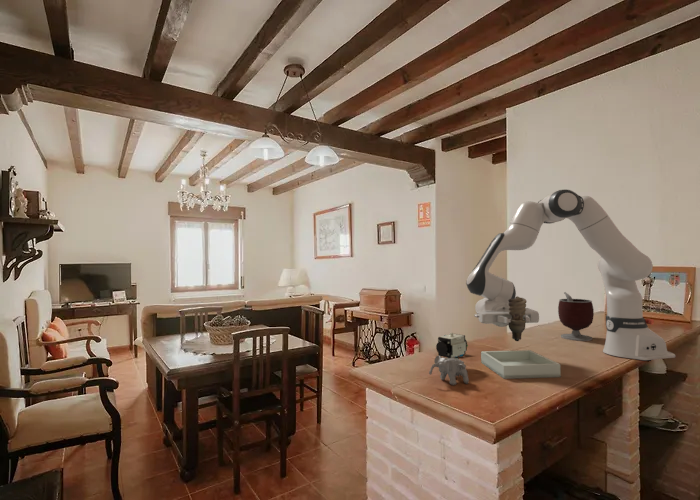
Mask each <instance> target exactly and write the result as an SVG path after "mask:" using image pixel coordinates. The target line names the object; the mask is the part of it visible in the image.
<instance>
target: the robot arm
mask: <svg viewBox="0 0 700 500" xmlns="http://www.w3.org/2000/svg"><path fill="white" fill-rule="evenodd" d="M566 219H568V220H570V221H571V222H572V223H573V224H574V225H575V227H576V228H577V230H578V231H579V233H580V234H581V236H582V237H583V239H584V240H585V241H586V243H587V244H588V246H589V247H590V248H591V249H593V250H594V251H595V252H596V253H597V254H598V255H599V256H600V258H599V259H598V261H597V269H598V271H599V272H600V274H601V277H602V278H601V279H602V283H603V287H604V291H605V296H606V315H605V327H606V335H605V342H604V346H603V350H602V352H603V353H604V354H607V355H610V356H614V357H619V358H627V359H634V360H640V361H652V360H663V359H672V358H673V359H674V358H676V354H675V353H673V352H671V351H668V347H667V344H666V341H665V339H664V338H663V337H661V336H660V335H659V334H657V332H654V331H653V330H652V329H650V328H649V327H648V325H654V323H655V320H654V319H651V318H645V317H643V315H644V314H643V297H642V294H641V293H640V291H639V289H638V286H637V283H636V281H640V280H642V279H646V278H648V276H650V274H652V272H653V268H654V267H653V262H652V260H651V258H650V257H649V256H648V255H646V254H645V253H643V252H641V250H639V249H638V248H637V247H636V245H634V244H633V243H632V242H631V241H630V240H629V239H628V238H627V237H626V236H625V235H623V233H622V232H621V231H620V230H619V229H618V227H617V226H616V224H615V223H614V222H613V220H612V219H611V217H610V216H609V215H608V213H607V212H606V211H605V209H604V208H603V207H602V206H601V205H600V203H599V202H598V201H596V200H595V199H594V198H593V197H591V196H588V195H584V196H582V195H579V194H577V193H576V192H574V191H573V190H571V189H558V190H555V191H554V192H551V193H550V194H547V195H546V196H545V197H544V198H542V199H540V200H539V201H538V202H535V201H524V202H522V203H521V204H520V205H519V207H517V208H516V211H515V212H514V214H513V216H512V219H511V220H510V222H509V225H508V227H507V228H506V230H505V231H503V232H502V233H500V232H499V233H498V234H497V235H495V237H494V238H492V240H491V242H490V243H489V245H488V246H487V248H486V249H485V251H484V253H483V254H482V256H481V257H480V258H479V260H478V262H477V264H476V265H475V266H474V268H473V269H472V271H471V272H470V273H469V275H468V277H467V278H466V280H465V281H466V282H465V284H466V287H467V290H468V291H469V293H471V294H473V295H476V296H479V297H480V296H481V297H482V299H479V300H478V301H477V302H476V303H475V306H474V309H475V313H474V314H473V316H474V317H475V318H477V319H478V322H479V323H481V324H483V325H484V324H485V325H487V324H490V325H494V326H496V327H499V328H504V327H508V326H509V323H511V321H510V320H511V317H512V315H510V314H509V312H510V310H509V307H510V306H509V305H508V304H509V301H508V300H509V299H515V297H517V293H516V292H517V291H516V286H515V284H514V283H513V281H510V280H508V279H506V278H503V277H500V276H498V275H497V274H496V275H495V274H494V273H491V272H489V270H490V268H491V267H492V265H493V264H494V262H495V260H496V259H497V257H498V256H499V254H500V253H501V252H504V251H524V250H527V249H530V248H531V247H532V246H533V245H534V244H535V242H536V240H537V239H538V236H539V233H540V230H541V227H542V226H543V224H555V223H558V222H561V221H563V220H566ZM525 309H526V311H525V315H524V316H523V320H525V321H526V323H525V324H532V323H535V324H537V323H539V321H540V314H539V313H540V312H538V311H537V310H534V309H532V308H528V307H525Z"/></svg>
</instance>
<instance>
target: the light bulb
mask: <svg viewBox="0 0 700 500" xmlns="http://www.w3.org/2000/svg"><path fill="white" fill-rule="evenodd" d="M508 301H509V304H508V305H509V306H510V307H509V310H510V312H509V314H510V315H512V317H511V320H510V321H511V323H509V325H508V329H509V330H510V331H511V333H512V337H511V338H512V340H514V341H515V342H520V341H521V340H522V333H523V332H524V331H525V330H526V324H527V323H526V321H525V320H523V316H524V315H525V311H526V309H525V308H527V304H526V303H527V299H526V298H524V297H520V296H518V295H516V296H515V299H509V300H508Z"/></svg>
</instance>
